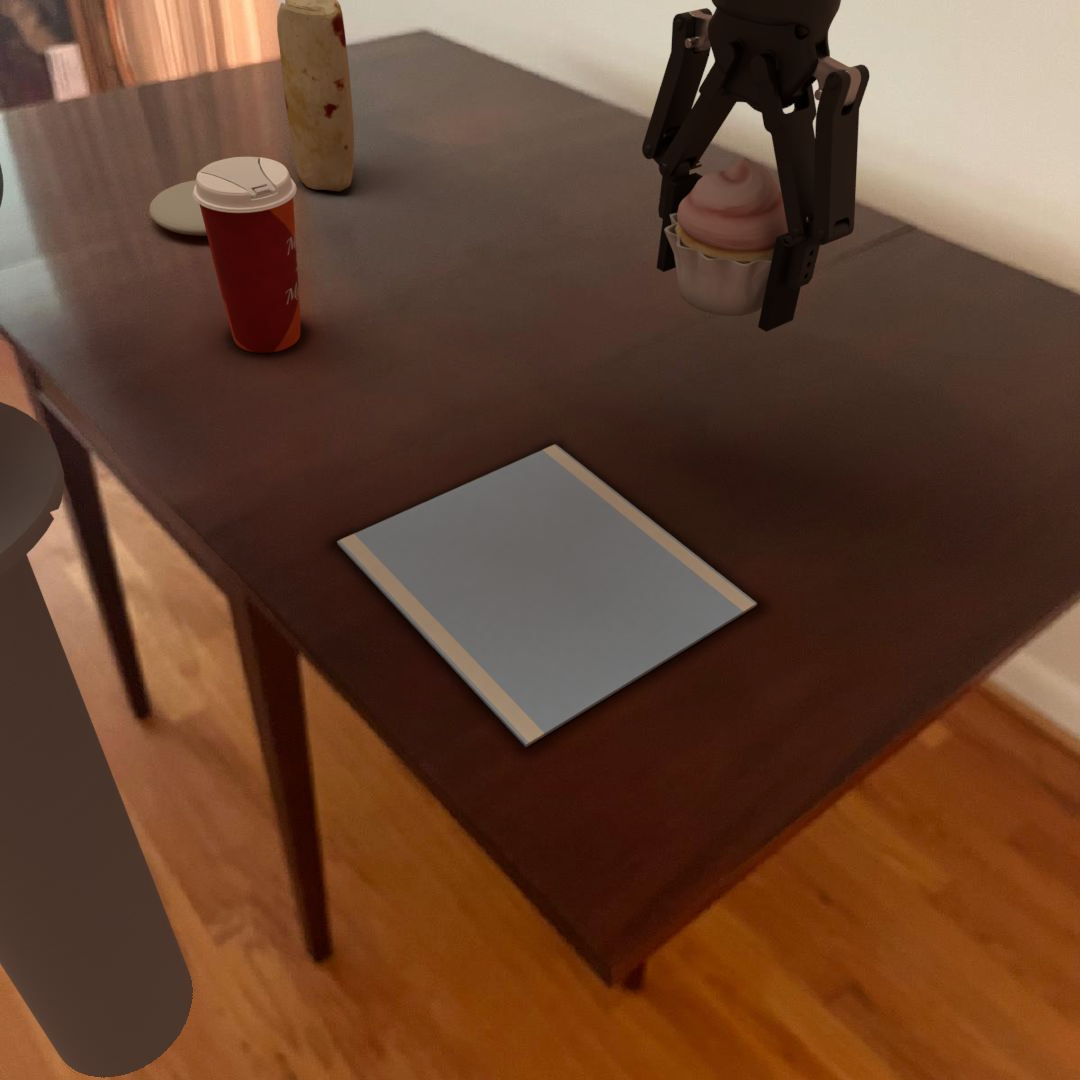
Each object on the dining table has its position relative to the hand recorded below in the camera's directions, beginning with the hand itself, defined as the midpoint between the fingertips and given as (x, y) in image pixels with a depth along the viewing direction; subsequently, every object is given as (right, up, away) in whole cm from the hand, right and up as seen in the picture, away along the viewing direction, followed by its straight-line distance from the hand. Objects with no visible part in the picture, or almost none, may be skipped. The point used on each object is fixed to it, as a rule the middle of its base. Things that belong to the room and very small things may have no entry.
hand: (722, 293), depth 74 cm
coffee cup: (-38, +1, +21) cm, 43 cm away
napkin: (-13, -20, -1) cm, 23 cm away
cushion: (-48, +16, +37) cm, 63 cm away
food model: (-37, +23, +46) cm, 63 cm away
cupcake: (0, 0, 0) cm, 0 cm away
